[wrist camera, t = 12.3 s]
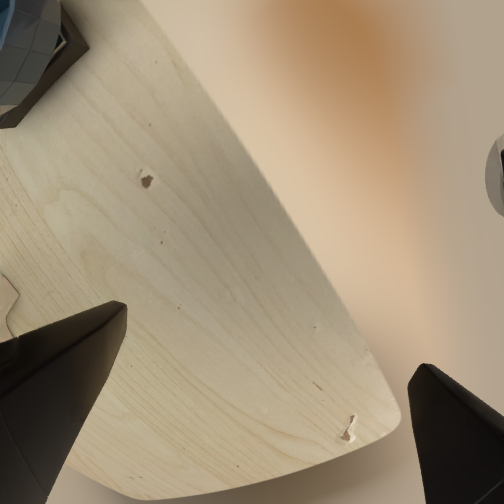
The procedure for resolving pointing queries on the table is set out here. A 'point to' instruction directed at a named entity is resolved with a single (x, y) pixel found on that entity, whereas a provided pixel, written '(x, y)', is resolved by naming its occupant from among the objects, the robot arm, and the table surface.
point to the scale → (50, 69)
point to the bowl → (25, 46)
